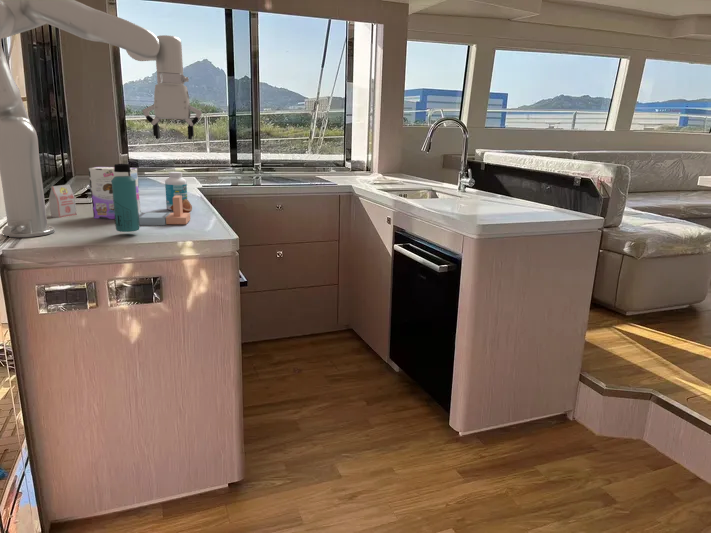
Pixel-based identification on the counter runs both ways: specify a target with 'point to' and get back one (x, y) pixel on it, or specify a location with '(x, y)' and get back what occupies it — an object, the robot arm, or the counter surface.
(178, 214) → the stub
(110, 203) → the candy box
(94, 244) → the counter surface
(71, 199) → the gable top carton
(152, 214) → the flat grey block
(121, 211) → the beverage bottle
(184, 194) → the pill bottle
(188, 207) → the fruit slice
